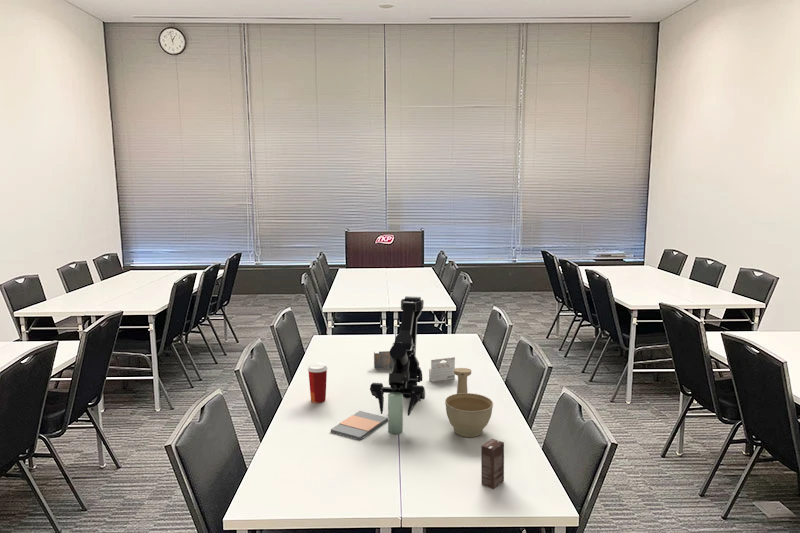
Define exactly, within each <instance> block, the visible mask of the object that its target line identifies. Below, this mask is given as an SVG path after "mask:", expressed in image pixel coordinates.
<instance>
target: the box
mask: <svg viewBox="0 0 800 533" xmlns="http://www.w3.org/2000/svg"><path fill="white" fill-rule="evenodd" d="M480 446H481V447H480V448H481V453H480V454H481V457H480V460H481V468H480V469H481V470H480V471H481V475H480V476H481V478H480V480H481V481H480V482H481V485H482V486H485V487H486V488H489V489H492V490H494V489H495V488H497V487H498V486H500V485H501V484H502V483H503V482H504V481H505V442H504V441H501V440H498V439H494V438H491V439H489V440H488V441H487V442H485V443H484V444H482V445H480Z"/></svg>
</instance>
